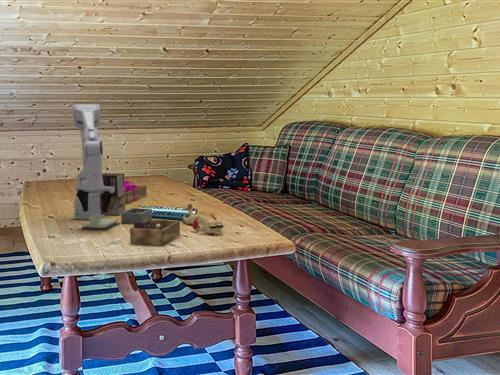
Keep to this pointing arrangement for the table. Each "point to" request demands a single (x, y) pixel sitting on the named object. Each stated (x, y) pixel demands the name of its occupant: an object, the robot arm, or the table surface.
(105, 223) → the lid
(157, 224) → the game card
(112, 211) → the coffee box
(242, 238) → the table surface
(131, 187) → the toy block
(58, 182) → the table surface
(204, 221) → the cat figure
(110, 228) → the mat
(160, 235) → the holders
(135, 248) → the table surface
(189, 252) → the table surface
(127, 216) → the tub
